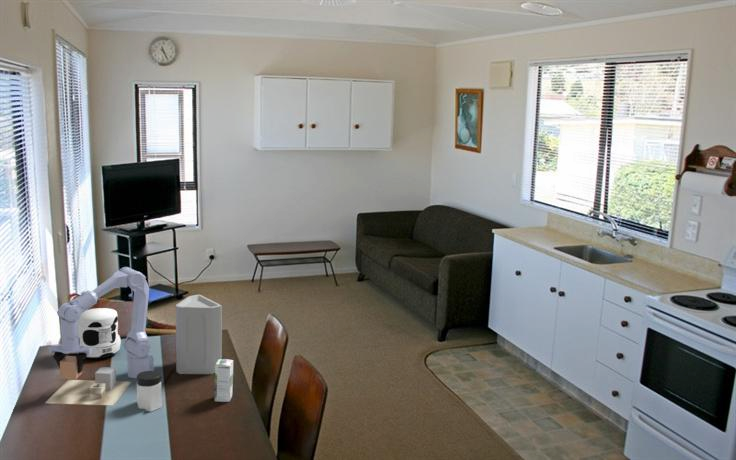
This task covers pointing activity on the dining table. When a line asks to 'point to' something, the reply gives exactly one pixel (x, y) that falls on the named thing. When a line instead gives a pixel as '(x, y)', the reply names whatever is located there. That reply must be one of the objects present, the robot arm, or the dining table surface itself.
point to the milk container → (99, 332)
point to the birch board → (86, 393)
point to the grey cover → (106, 377)
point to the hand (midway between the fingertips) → (71, 371)
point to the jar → (149, 390)
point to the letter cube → (97, 390)
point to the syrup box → (223, 380)
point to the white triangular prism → (198, 335)
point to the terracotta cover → (69, 368)
